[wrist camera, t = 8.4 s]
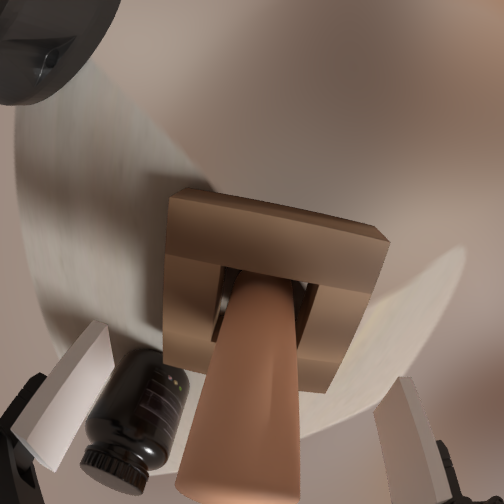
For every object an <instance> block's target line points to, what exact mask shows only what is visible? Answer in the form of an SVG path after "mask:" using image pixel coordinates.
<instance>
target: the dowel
mask: <svg viewBox="0 0 504 504" xmlns="http://www.w3.org/2000/svg"><path fill="white" fill-rule="evenodd" d="M175 487H176V489H177V490H178V491H179V492H180V493H181V494H183V495H184V496H186V497H188V498H190V499H192V500H194V501H196V502H199V503H202V504H297V503H298V502H299V500H300V426H299V393H298V369H297V349H296V332H295V316H294V301H293V288H292V283H291V280H290V279H287V278H281V277H276V276H271V275H266V274H261V273H256V272H251V271H246V270H242V271H241V272H240V273H239V275H238V276H237V278H236V280H235V282H234V285H233V289H232V292H231V295H230V299H229V302H228V305H227V308H226V312H225V315H224V318H223V322H222V325H221V328H220V332H219V335H218V338H217V342H216V345H215V348H214V352H213V355H212V358H211V362H210V365H209V368H208V372H207V375H206V378H205V382H204V385H203V389H202V392H201V395H200V399H199V402H198V406H197V409H196V412H195V416H194V419H193V423H192V426H191V429H190V433H189V436H188V440H187V443H186V447H185V450H184V453H183V457H182V460H181V464H180V467H179V471H178V474H177V478H176V481H175Z"/></svg>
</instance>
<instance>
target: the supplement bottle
mask: <svg viewBox="0 0 504 504" xmlns="http://www.w3.org/2000/svg"><path fill="white" fill-rule="evenodd" d="M189 387H190V385H189V380H188V377H187V375H186V373H185V371H184V370H183V369H181V368H178V367H174V366H170V365H167V364H163V354H162V353H159V352H156V351H152V350H147V349H139V350H134V351H131V352H129V353H127V354H126V355H125V356H124V357H123V358H122V360H121V361H120V363H119V365H118V366H117V368H116V369H115V371H114V373H113V374H112V376H111V378H110V379H109V381H108V383H107V385H106V386H105V388H104V390H103V391H102V393H101V395H100V397H99V398H98V400H97V402H96V404H95V405H94V407H93V409H92V411H91V413H90V414H89V416H88V418H87V420H86V424H85V430H86V434H87V437H88V439H89V441H90V442H91V444H92V445H88V446H87V448H86V449H85V454H84V456H83V458H82V460H81V462H80V467H81V469H82V470H83V471H84V472H85V473H86V474H87V475H89V476H90V477H91V478H93V479H94V480H96V481H98V482H99V483H101V484H103V485H105V486H107V487H109V488H111V489H114V490H116V491H119V492H122V493H125V494H129V495H134V496H139V495H142V494H143V491H144V488H145V485H146V482H147V481H148V479H149V473H148V472H147V471H152V470H156V469H159V468H161V467H162V466H163V465H164V464H165V463H166V462H167V460H168V458H169V455H170V452H171V448H172V445H173V442H174V438H175V435H176V432H177V429H178V425H179V422H180V419H181V416H182V412H183V409H184V406H185V403H186V399H187V396H188V393H189Z"/></svg>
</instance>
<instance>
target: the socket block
mask: <svg viewBox="0 0 504 504" xmlns="http://www.w3.org/2000/svg"><path fill="white" fill-rule="evenodd" d="M389 245H390V242H389V241H388V240H387V238H386V237H385V236H384V235H383V234H382V233H381V232H380V231H379V230H378V229H377V228H376V227H375V226H372V225H367V224H364V223H360V222H355V221H352V220H347V219H343V218H339V217H334V216H330V215H326V214H321V213H317V212H312V211H308V210H303V209H298V208H294V207H289V206H284V205H279V204H274V203H270V202H264V201H259V200H254V199H249V198H244V197H238V196H233V195H227V194H222V193H216V192H210V191H204V190H198V189H192V188H185V189H183V190H181V191H179V192H177V193H176V194H174V195H172V196H170V197H169V205H168V216H167V229H166V243H165V260H164V282H163V364H167V365H170V366H174V367H178V368H181V369H185V370H189V371H193V372H197V373H202V374H206V375H207V372H208V368H209V365H210V362H211V358H212V355H213V352H214V348H215V345H216V342H217V338H218V335H219V332H220V328H221V325H222V322H223V318H224V317H222V316H219V312H220V305H221V299H222V292H223V285H224V279H225V272H226V267H231V268H236V269H241V270H246V271H251V272H256V273H261V274H266V275H271V276H276V277H281V278H287V279H292V280H297V281H302V282H308V285H307V288H306V291H305V295H304V298H303V301H302V304H301V308H300V311H299V314H298V317H297V320H296V323H295V332H296V349H297V369H298V391H305V392H314V393H324V394H325V393H326V391H327V389H328V388H329V386H330V384H331V382H332V380H333V378H334V376H335V374H336V372H337V370H338V368H339V366H340V364H341V362H342V360H343V358H344V356H345V354H346V352H347V350H348V348H349V346H350V343H351V341H352V339H353V337H354V335H355V333H356V330H357V328H358V326H359V323H360V321H361V319H362V317H363V314H364V312H365V309H366V307H367V305H368V302H369V300H370V297H371V295H372V292H373V290H374V287H375V284H376V282H377V279H378V277H379V274H380V271H381V268H382V265H383V263H384V260H385V257H386V254H387V251H388V248H389Z"/></svg>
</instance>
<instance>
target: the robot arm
mask: <svg viewBox="0 0 504 504" xmlns="http://www.w3.org/2000/svg"><path fill="white" fill-rule="evenodd" d="M120 1H121V0H0V104H1V105H10V106H11V105H12V106H13V105H31V104H35V103H38V102H40V101H42V100H44V99H46V98H48V97H50V96H51V95H53V94H54V93H55V92H57V91H58V90H59V89H61V88H62V87H63V86H64V85H65V84H66V83H67V82H68V81H69V80H70V79H71V78H72V77H73V76H74V75H75V74H76V73H77V72H78V71H79V70H80V69H81V68H82V66H83V65H84V64H85V63H86V61H87V60H88V59H89V58H90V56H91V55H92V54H93V52H94V51H95V49H96V48H97V46H98V45H99V43H100V42H101V40H102V38H103V37H104V35H105V34H106V32H107V30H108V28H109V27H110V25H111V23H112V21H113V19H114V17H115V14H116V12H117V10H118V7H119V4H120ZM114 367H115V365H114V360H113V354H112V349H111V343H110V337H109V330H108V324H105V323H102V322H99V321H96V320H93V321H92V322H91V323H90V324H89V325H88V327H87V328H86V329H85V330H84V331H83V333H82V334H81V335H80V336H79V337H78V339H77V340H76V341H75V342H74V344H73V345H72V346H71V347H70V348H69V350H68V351H67V352H66V353H65V355H64V356H63V357H62V359H61V360H60V361H59V362H58V364H57V365H56V366H55V367H54V369H53V370H52V372H51V373H50V374H49V376H46V375H44V374H42V373H38V374H36V375H35V376H33V377H31V378H30V379H29V380H28V382H27V383H26V384H25V385H24V387H23V389H21V391H20V392H19V393H18V396H16V397H15V399H14V400H13V401H12V403H11V404H10V406H9V407H8V408H7V410H6V411H5V412H4V414H3V415H2V417H1V418H0V504H45V503H44V500H43V497H42V494H41V490H40V487H39V484H38V480H37V476H36V472H35V468H34V465H33V460H34V458H35V459H36V460H37V461H38V462H39V463H40V464H41V465H43V466H45V467H46V468H48V469H50V470H51V471H53V472H56V470H57V468H58V466H59V465H60V463H61V460H62V459H63V457H64V455H65V453H66V451H67V449H68V447H69V445H70V444H71V442H72V440H73V438H74V436H75V434H76V433H77V431H78V429H79V427H80V425H81V424H82V422H83V420H84V418H85V416H86V415H87V413H88V411H89V409H90V408H91V406H92V404H93V403H94V401H95V399H96V397H97V396H98V394H99V392H100V391H101V389H102V387H103V386H104V384H105V382H106V380H107V379H108V377H109V376H110V374H111V372H112V371H113V369H114ZM373 413H374V418H375V422H376V426H377V430H378V435H379V439H380V444H381V448H382V453H383V458H384V463H385V468H386V473H387V479H388V484H389V490H390V496H391V502H392V504H504V502H503V499H502V498H501V497H499V496H493V497H491V498H490V499H488V500H487V501H481V502H472V500H471V499H470V498H468V497H465V496H463V495H462V494H461V491H460V487H459V484H458V480H457V477H456V474H455V470H454V467H452V466H453V464H452V461H451V460H450V455H449V452H448V449H447V447H446V446H445V445H444V443H443V442H442V441H441V440H438V441H435V438H434V435H433V432H432V429H431V427H430V424H429V421H428V418H427V416H426V413H425V410H424V408H423V405H422V402H421V400H420V397H419V395H418V392H417V390H416V387H415V385H414V382H413V380H412V378H411V377H398V378H397V380H396V381H395V383H394V384H393V386H392V387H391V388H390V390H389V391H388V393H387V394H386V396H385V397H384V398H383V400H382V401H381V402H380V404H379V405H378V407H377V408H376V409H375V411H374V412H373Z"/></svg>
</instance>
